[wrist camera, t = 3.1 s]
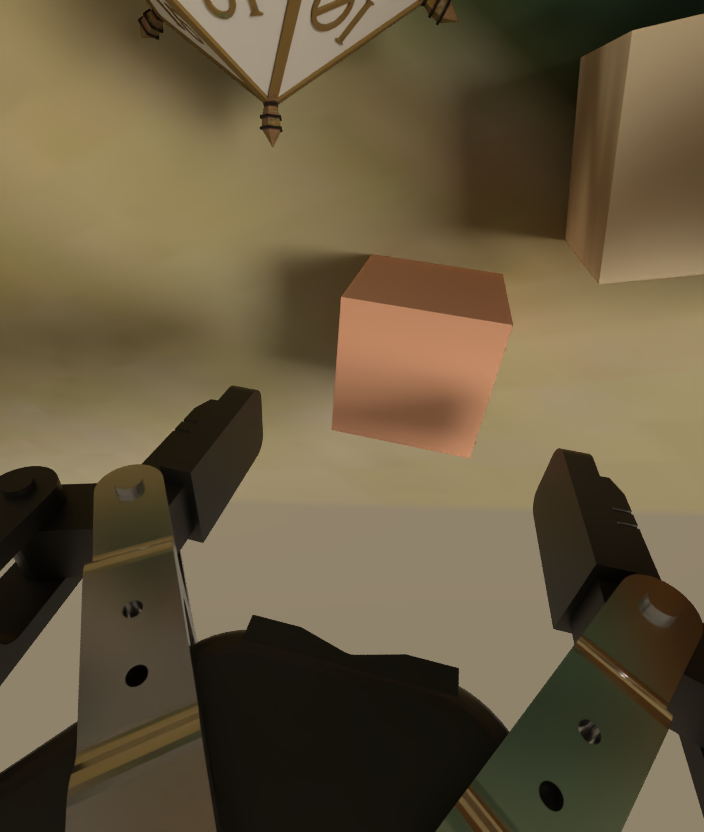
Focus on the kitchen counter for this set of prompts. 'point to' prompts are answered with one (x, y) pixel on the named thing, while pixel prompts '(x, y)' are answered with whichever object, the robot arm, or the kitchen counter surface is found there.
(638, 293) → the kitchen counter surface
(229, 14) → the game die
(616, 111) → the birch block
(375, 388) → the terracotta block
